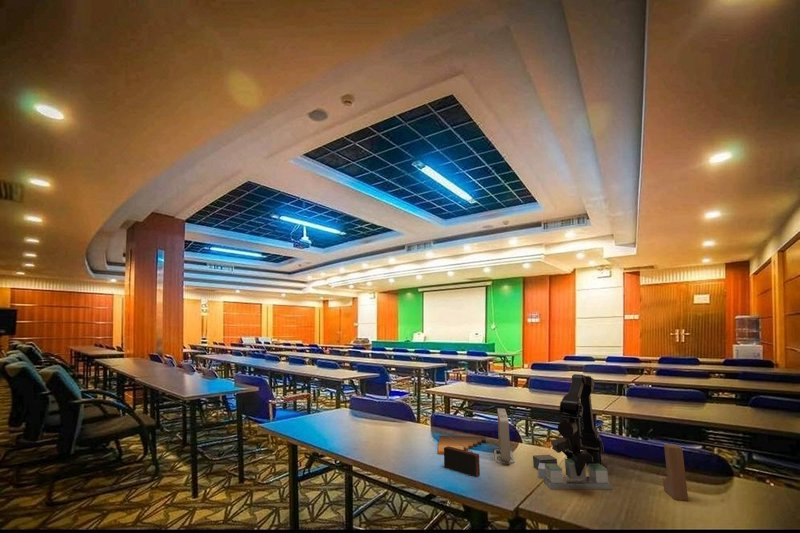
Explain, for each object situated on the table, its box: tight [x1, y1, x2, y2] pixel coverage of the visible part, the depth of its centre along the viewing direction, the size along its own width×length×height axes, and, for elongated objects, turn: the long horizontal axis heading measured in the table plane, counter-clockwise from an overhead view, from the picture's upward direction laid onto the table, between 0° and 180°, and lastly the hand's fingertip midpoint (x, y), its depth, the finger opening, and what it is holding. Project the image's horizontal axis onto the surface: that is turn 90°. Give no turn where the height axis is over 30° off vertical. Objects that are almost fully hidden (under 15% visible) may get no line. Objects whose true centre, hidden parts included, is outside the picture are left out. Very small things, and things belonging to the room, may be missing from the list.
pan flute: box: [438, 435, 487, 455], centre depth 197 cm, size 25×3×25 cm
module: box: [564, 458, 587, 479], centre depth 150 cm, size 6×4×6 cm
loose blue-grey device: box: [537, 463, 545, 480], centre depth 159 cm, size 5×7×4 cm
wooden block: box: [662, 443, 689, 502], centre depth 142 cm, size 9×4×18 cm, turn 167°
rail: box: [543, 463, 612, 490], centre depth 150 cm, size 23×7×7 cm, turn 90°
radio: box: [440, 430, 481, 478], centre depth 166 cm, size 19×3×15 cm, turn 47°
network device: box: [493, 408, 516, 465], centre depth 184 cm, size 26×9×20 cm, turn 168°
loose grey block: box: [532, 454, 558, 471], centre depth 167 cm, size 8×6×5 cm
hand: (575, 473), depth 150 cm, fingers closed on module, 4 cm apart
